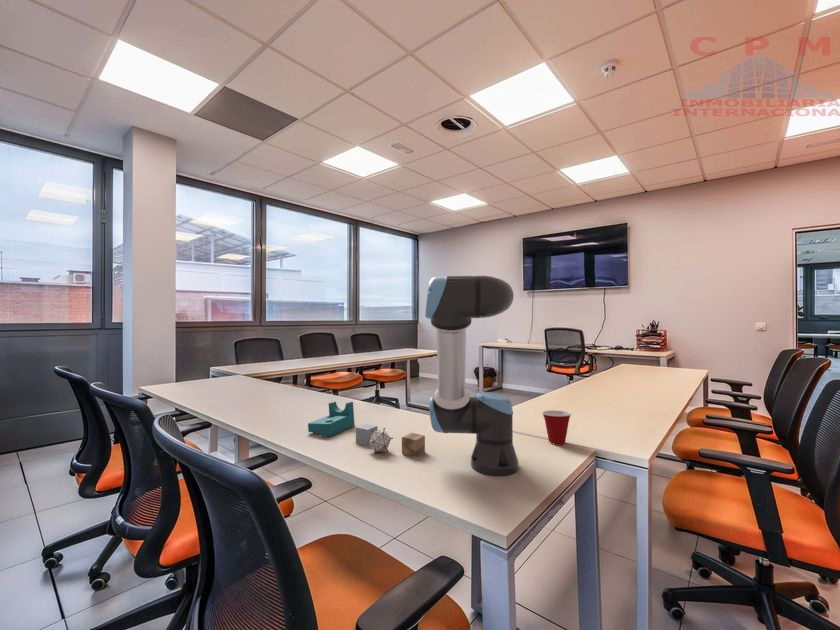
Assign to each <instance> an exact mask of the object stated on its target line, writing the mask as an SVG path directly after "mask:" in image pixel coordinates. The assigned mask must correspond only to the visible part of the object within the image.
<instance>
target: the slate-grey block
mask: <svg viewBox="0 0 840 630" xmlns="http://www.w3.org/2000/svg"><path fill="white" fill-rule="evenodd" d="M378 427H379V426H378V425H375V424H369V423H364V424H361V425H358V426H356V427H355V443H356V444H360V445H365V446H371V445H370V444H367V442H369V441H370V438H371V435H372V433H373V432H372V430H373V431H379V430H378V429H379V428H378Z"/></svg>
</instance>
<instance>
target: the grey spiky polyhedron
mask: <svg viewBox="0 0 840 630" xmlns="http://www.w3.org/2000/svg"><path fill="white" fill-rule="evenodd" d="M372 432H373V433H372V435H371V438H370V441H369V442H367V444H370V445H369V446H370V447H371V448H372V449H373V450H374V454H375V455H376V454H377V453H378V452H382V451H387V452H389V449H388V448H389V445H390V443H391V441H392V440H393V439H394V437H391V436H390V435H389V434H388V432H387V431H386V427H384V428H383V429H380V430H378V431H373V430H372Z"/></svg>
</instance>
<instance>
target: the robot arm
mask: <svg viewBox="0 0 840 630" xmlns="http://www.w3.org/2000/svg"><path fill="white" fill-rule="evenodd" d="M427 287H428V288H427V295H426V304H425V318H427V319H429V320H430V324H431V326H432V327H434V328H435V329H436V359H437V361H436V362H437V363H436V364H437V366H436V367H437V389H436V390H435V391H434V394H433V395H432V396H431V397H430V398H429V419H430V424H431V428H432V429H433V431H434V432H436V433H443V434H470V435H471V434H475V435H476V437H475V438H476V439H475V440H476V441H475V444H474V448H473V450H472V454H471V456H470V466H471V468H472V469H473V470H475V471H477V472H478V473H481V474H484V475H488V476H497V477H498V476H499V477H501V476H508V475H509V476H510V475H513V474H515V473H517V471H519V460H518V459H519V458H518V457H517V453H516V449H515V447H514V442H513V439H514V437H513V435H514V433H513V428H514V427H513V426H514V425H513V415H514V411H513V402H512V400H511V399H510V398H509V397H508V396H505V395H503V394H499V393H495V392H488V391H479V392H476V394H475V396H471V395H470V392H469V391H468V390H467V389H466V355H467V353H466V352H467V351H466V349H467V332H466V331H467V329H468V328H469V327H470V326H471V324H472V319H484V318H491V317H495V316H498V315H500V314H503V313H504V312H506V311H507V310H508V309H509V308H510V307H511V306H512V304H513V302H514V295H515V294H514V291H513V288H512V286H511V285H510V283H508V282H507V281H506V280H503V279H502V278H501V279H500V278H497V277H495V276H489V275H444V276H434V277H432V278H430V279H429V281H428V286H427Z"/></svg>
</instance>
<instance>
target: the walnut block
mask: <svg viewBox="0 0 840 630" xmlns="http://www.w3.org/2000/svg"><path fill="white" fill-rule="evenodd" d="M423 452H424V453H425V452H426V436H425V435H424V434H419V433H415V432H410V433H408V434H405V435H403V436H401V454H402V455H405V454H406V455H405V456H409V455H410V457H413V456H414V457H413V458H417V457H419V456H420V455H421V454H424V453H423Z"/></svg>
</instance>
